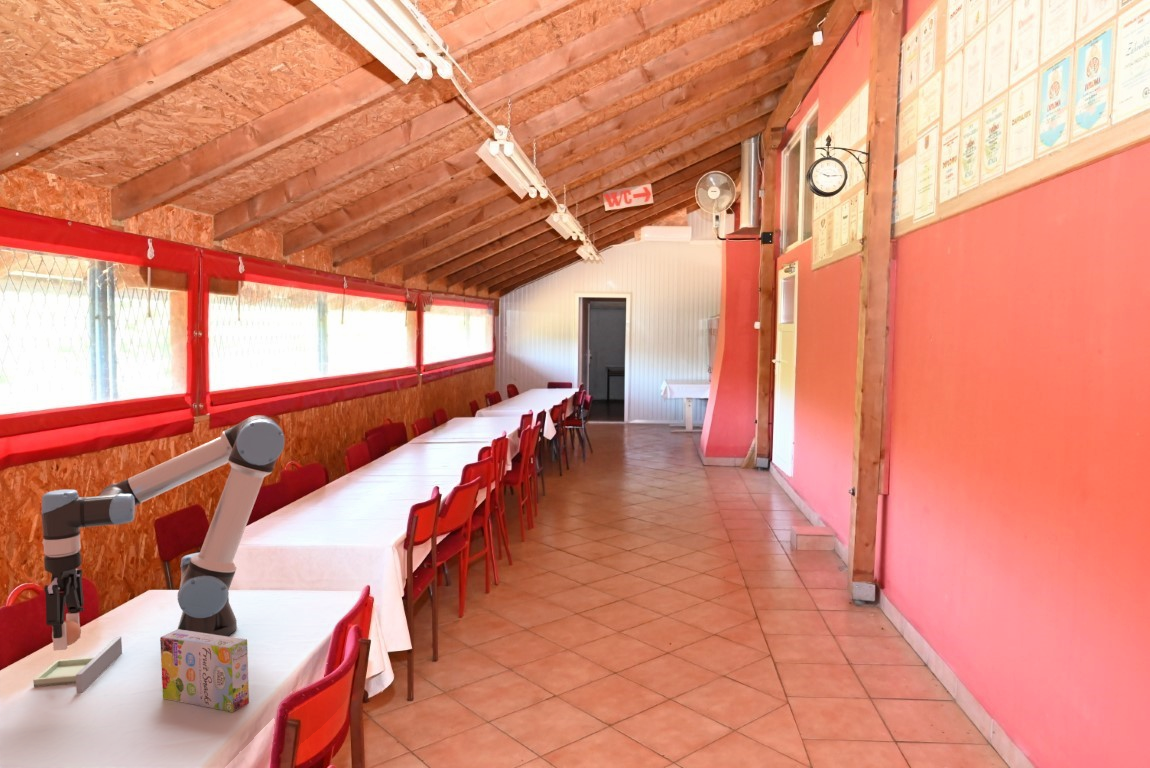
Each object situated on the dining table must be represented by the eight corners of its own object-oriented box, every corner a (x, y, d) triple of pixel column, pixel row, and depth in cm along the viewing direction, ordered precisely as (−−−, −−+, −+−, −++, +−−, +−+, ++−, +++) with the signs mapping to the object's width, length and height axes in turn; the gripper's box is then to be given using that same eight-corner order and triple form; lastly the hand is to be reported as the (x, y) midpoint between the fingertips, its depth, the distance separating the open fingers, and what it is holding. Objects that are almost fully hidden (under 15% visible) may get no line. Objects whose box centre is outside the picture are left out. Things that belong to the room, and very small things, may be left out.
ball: (86, 639, 187) (84, 616, 187) (74, 649, 181) (73, 625, 181) (60, 641, 186) (58, 618, 186) (47, 651, 180) (46, 627, 180)
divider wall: (122, 653, 196) (121, 636, 196) (82, 692, 175) (81, 674, 175) (117, 653, 196) (116, 637, 196) (76, 693, 175) (75, 674, 174)
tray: (104, 662, 191) (103, 656, 191) (83, 682, 180) (83, 675, 180) (57, 666, 189) (56, 660, 189) (33, 687, 178) (33, 679, 178)
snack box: (251, 701, 170) (248, 638, 168) (232, 713, 164) (229, 648, 163) (180, 688, 176) (177, 627, 175) (160, 699, 171) (157, 636, 170)
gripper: (65, 543, 191) (69, 630, 192) (24, 565, 172) (29, 661, 174) (96, 541, 192) (101, 628, 194) (59, 563, 174) (64, 658, 175)
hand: (67, 643), depth 184 cm, fingers closed on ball, 6 cm apart
